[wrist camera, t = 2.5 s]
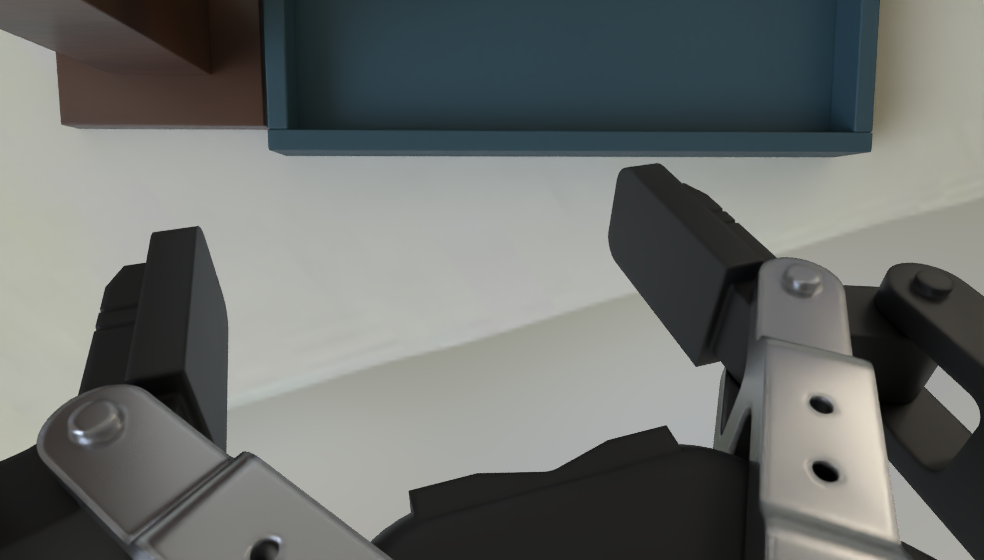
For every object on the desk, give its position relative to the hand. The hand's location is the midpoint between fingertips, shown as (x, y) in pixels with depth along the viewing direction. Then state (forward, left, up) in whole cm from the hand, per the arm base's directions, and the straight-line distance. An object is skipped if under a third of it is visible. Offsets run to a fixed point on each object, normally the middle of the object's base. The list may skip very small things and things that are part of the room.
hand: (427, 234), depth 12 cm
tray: (-9, +6, -16) cm, 19 cm away
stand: (-8, -9, -16) cm, 20 cm away
